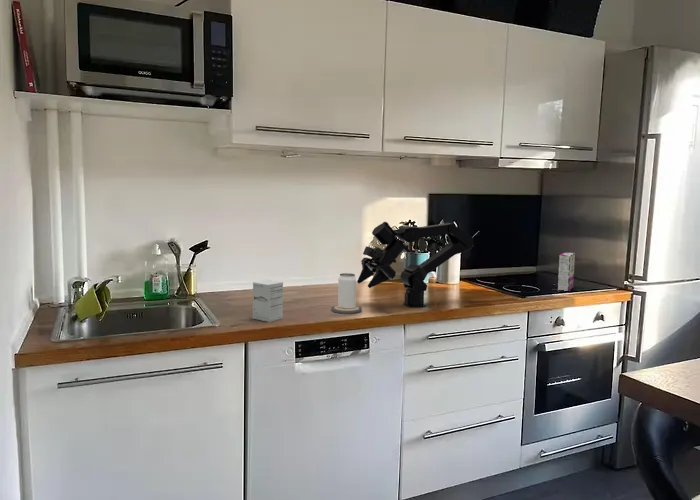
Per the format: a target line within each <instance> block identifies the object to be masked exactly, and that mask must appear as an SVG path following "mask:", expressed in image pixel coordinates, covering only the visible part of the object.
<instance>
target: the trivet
mask: <svg viewBox="0 0 700 500" xmlns="http://www.w3.org/2000/svg"><path fill="white" fill-rule="evenodd" d="M362 311H363V308H362V307H360V306H359V305H356V307H355V308H353V309H342V308H339V307H338V305H334V306H332V307H331V312H333V313H336V314H340V315H356V314H359V313H362Z"/></svg>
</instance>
